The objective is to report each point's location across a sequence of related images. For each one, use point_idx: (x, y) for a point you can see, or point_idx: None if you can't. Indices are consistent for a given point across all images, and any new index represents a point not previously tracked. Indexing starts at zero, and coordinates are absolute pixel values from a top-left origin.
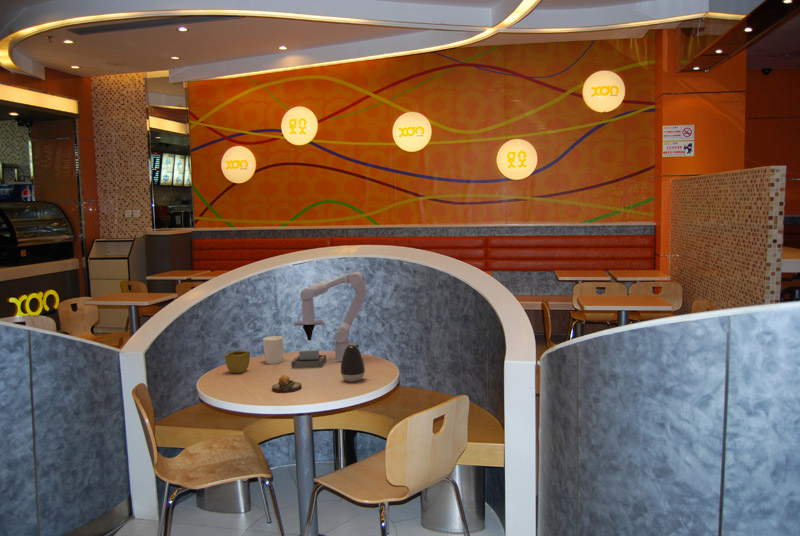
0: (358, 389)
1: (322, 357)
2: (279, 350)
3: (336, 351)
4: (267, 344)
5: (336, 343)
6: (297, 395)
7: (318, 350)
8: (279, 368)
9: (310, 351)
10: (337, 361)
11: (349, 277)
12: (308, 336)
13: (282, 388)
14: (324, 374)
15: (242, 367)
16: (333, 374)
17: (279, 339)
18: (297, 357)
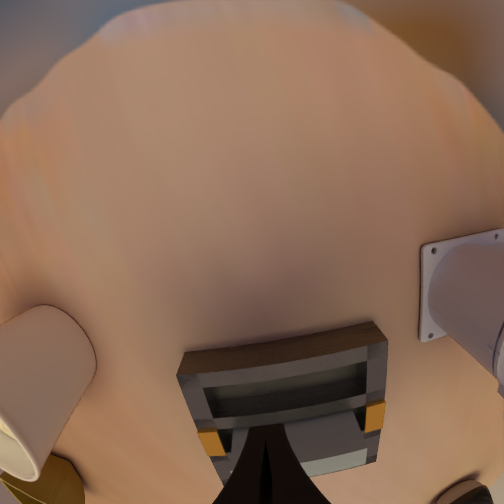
0: None
1: (377, 417)
2: (67, 419)
3: (463, 347)
4: (14, 451)
5: (496, 378)
6: None
7: (366, 450)
8: (165, 457)
9: (314, 472)
10: (436, 336)
11: None
12: (272, 494)
13: None
14: (386, 489)
15: (83, 498)
16: (413, 481)
17: (40, 472)
18: (201, 416)
